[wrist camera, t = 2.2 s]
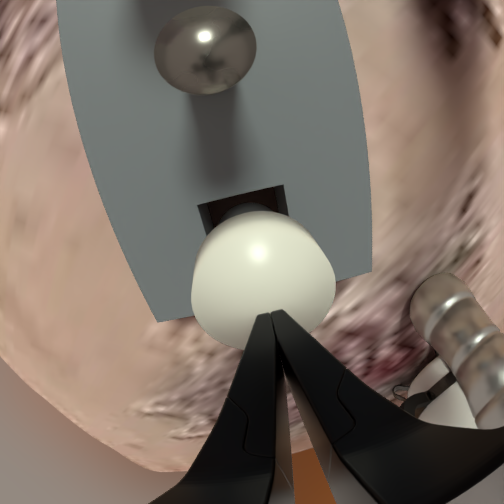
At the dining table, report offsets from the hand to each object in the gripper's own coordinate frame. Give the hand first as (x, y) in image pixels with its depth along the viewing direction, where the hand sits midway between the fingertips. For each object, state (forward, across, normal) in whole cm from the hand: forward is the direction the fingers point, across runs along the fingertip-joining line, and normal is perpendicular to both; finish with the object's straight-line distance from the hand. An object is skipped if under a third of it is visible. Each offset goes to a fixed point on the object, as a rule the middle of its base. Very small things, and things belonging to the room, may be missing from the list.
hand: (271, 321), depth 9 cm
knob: (+7, 0, 0) cm, 7 cm away
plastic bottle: (+11, -16, +13) cm, 23 cm away
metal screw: (+7, 0, -8) cm, 11 cm away
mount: (+11, 0, -8) cm, 14 cm away
